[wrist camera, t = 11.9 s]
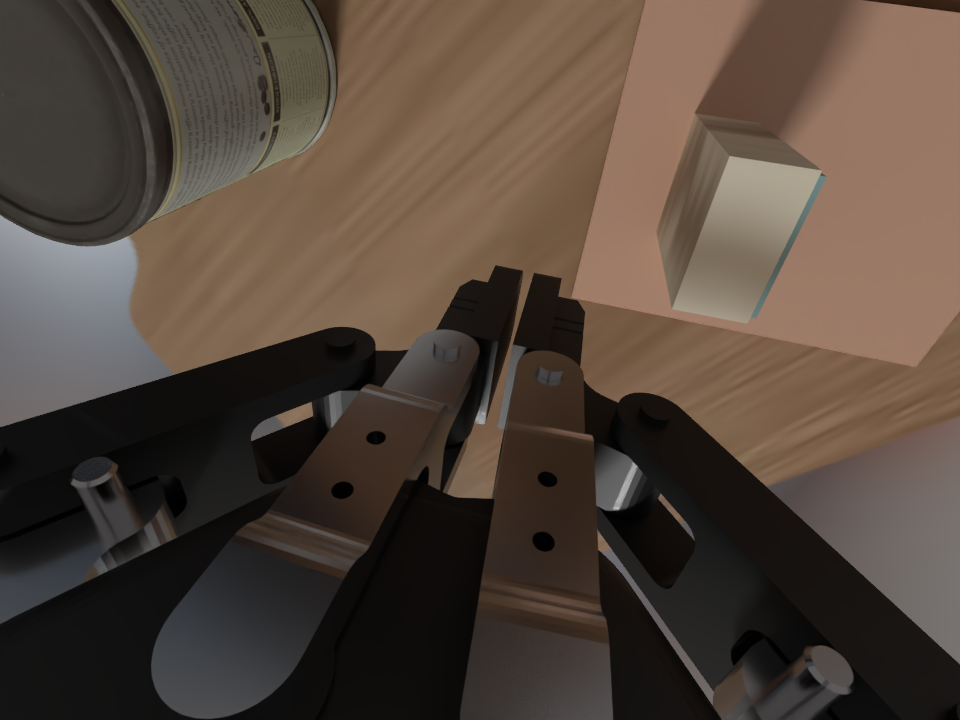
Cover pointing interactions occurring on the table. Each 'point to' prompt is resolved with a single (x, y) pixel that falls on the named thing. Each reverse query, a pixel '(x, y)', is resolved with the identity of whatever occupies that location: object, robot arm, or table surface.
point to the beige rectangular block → (732, 216)
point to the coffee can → (150, 105)
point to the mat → (819, 138)
